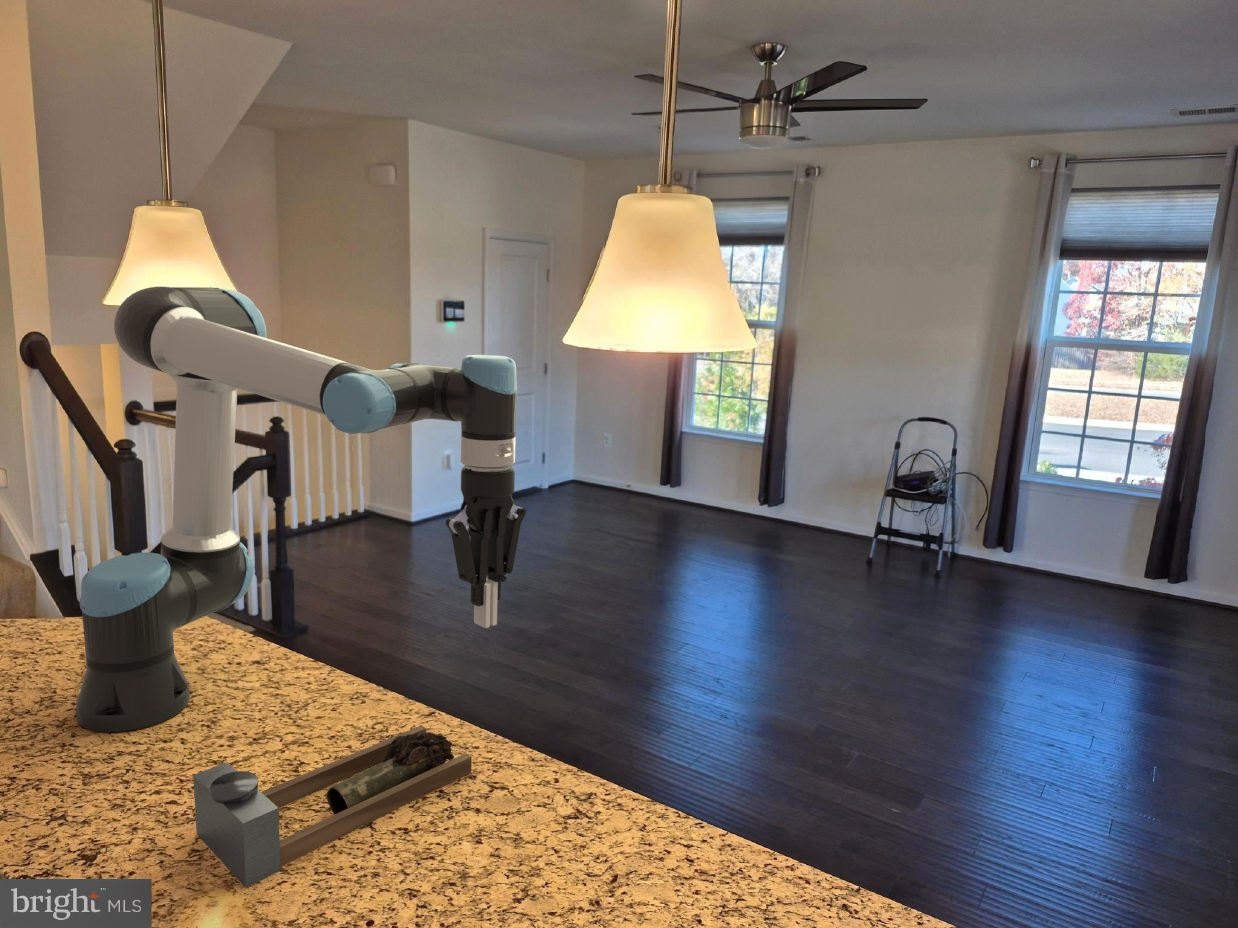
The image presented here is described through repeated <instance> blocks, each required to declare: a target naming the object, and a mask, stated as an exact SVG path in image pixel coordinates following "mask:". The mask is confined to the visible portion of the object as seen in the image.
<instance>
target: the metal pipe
mask: <svg viewBox="0 0 1238 928" xmlns="http://www.w3.org/2000/svg"><path fill="white" fill-rule="evenodd" d="M452 746H453V743H452V741H450V740H448V739H447V737H446V736H444V735H443V734H436V733H434V732H431V731H430V732H426V733H423V734H422V733H414V734H413V735H412V734H411V735H410V734H408V735H406V736H398V737H396V739H394V740H393V741H392V743H391V744H390V746H389V751H388V754H387V755H386V756H385V760H384V762H383V763H381V764H378V765H376V766H374V767H372V768H369V769H367V770H365V771H362V772H360V773H358V774H356V775H353V776H351V777H349V778H347V779H344V780H342V781H340V782H337V783H335V784H333V785H331V786H329V788H328V790H327V792H326V800H327V803H328V806H329V808H330V810H331V812H332V814H334V815H335V814H337V813H339V812H342V811H344V810H346V809H348V808H350V807H352V806H354V805H356V804H359V803H361V802H363V801H365V800H367V799H369V798H371V797H373V796H376V795H378V794H380V793H382V792H384V791H386V790H388V789H390V788H393V787H395V786H397V785H399V784H401V783H403V782H405V781H407V780H410V779H412V778H414V777H416V776H418V775H420V774H422V773H425V772H427V771H429V770H431V769H433V768H435V767H437V766H439V765H442V764H444V763H446V762H447V761H450V760H452V759H454V758H455V756H454V755H453V753H452V748H451V747H452Z"/></svg>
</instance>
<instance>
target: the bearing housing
mask: <svg viewBox="0 0 1238 928" xmlns="http://www.w3.org/2000/svg"><path fill="white" fill-rule="evenodd" d="M192 776H193V777H192V778H193V779H192V780H193V794H194V797H193V798H194V811H195V828H196V829H195V830H196V836H197V837H198V838H199V839H200V840H201V841H202V842H203V843H204V844H205V846H206V847H207V848H208V849H209V850H210V851H211V852H212V853H213V854H214V855H215V856H216V857H217V858H218V859H219V861H220V862H221V863H222V864H223V865H224V866H225V867H226V868H227V869H228V870H229V871H230V872H231V874H232V875H233V876H234V877H235V878H236V879H237V880H238V881H239V882H240V883H241V884H242V885H243V886H244V888H245V889H247V888H249V887H251V886H253V885H255V884H257V883H258V882H261V881H263V880H265V879H266V878H268V877H271V876H273V875H275V874H277V873H279V872H281V870H282V866H281V863H280V840H281V839H280V815H279V813H280V812H279V811H280V810H279V809H280V808H278V807H277V806H276V805H275V804H274V803H272V802H271V801H270V800H269V799H268V798H267V797H266V796H265V795H263V794H262V793H261V792H262V791H260V790H259V778H258V775H257V774H255V773H253V772H250V771H247V770H236V769H235V768H234V767H233V766H232V765H231V764H230V763H229V762H228V761H226V762H224V763H221V764H218V765H215V766H213V767H211V768H208V769H206V770H202V771H200V772H197V773H195V774H193V775H192Z"/></svg>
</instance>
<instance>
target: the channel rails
mask: <svg viewBox="0 0 1238 928" xmlns="http://www.w3.org/2000/svg"><path fill="white" fill-rule="evenodd" d="M414 733H422V734H423V733H427V727H425V726H423V725H422V724H421V725H418V726H416V727H414V728H413V727H412V728H411V729H408V730H406V731H404V732H401V733H399V734H396V735H395V736H392V737H389V738H387V739H385V740H382V741H380V742H378V743H375V744H373V745H370V746H367V747H365V748H363V749H360V750H358V751H355V752H354V753H351V754H348V755H347V756H344V757H342V758H339V759H336V760H334V761H332V762H329V763H327V764H324V765H322V766H320V767H317V768H315V769H312V770H310V771H308V772H306V773H303V774H301V775H299V776H298V775H297V776H296V777H294V778H292V779H288V780H287V781H283V782H282V783H279V784H276V785H274V786H271V787H270V788H267V789H265V790H263V791H260V792H261V793H262V794H263V795H265V796H266V797H267V798H268V799H269V800H270V801H271V802H272V803H274V804H275V805H276V806H277V807H278V809H280V808H283V807H285V806H287V805H289V804H292V803H294V802H296V801H298V800H301V799H304V798H305V797H308V796H310V795H312V794H315V793H317V792H319V791H321V790H324V789H326V788H327V787H332V786H334V785H336V784H338V783H340V782H343V781H345V780H347V779H349V778H351V777H354V776H356V775H358V774H360V773H362V772H364V771H366V770H369V769H371V767H372V768H373V766H374V767H375V765H376V766H377V765H379V764H380V763H381V764H382V763H384V760H385V756H386V755H387V754H388V751H389V746H390V744H391V743H392V741H393V740H394V739H396V737H398V736H406V735H408V734H410V735H411V734H412V735H413V734H414ZM472 758H473V757H472V755H471V754H468V753H467V752H465V753H463V754H461V755H459V756H456V757H454V758H453V759H452V760H450V761H449V760H447V761H445V763H444V764H442V765H439V766H437V767H435V768H433V769H431V770H429V771H427V772H425V773H422V774H420V775H418V776H416V777H414V778H412V779H410V780H407V781H405V782H403V783H401V784H399V785H397V786H395V787H393V788H390V789H388V790H386V791H384V792H382V793H380V794H378V795H376V796H373V797H371V798H369V799H367V800H365V801H363V802H361V803H359V804H356V805H354V806H352V807H350V808H348V809H346V810H344V811H342V812H339V813H337V814H335V815H331V816H329V817H327V818H325V819H323V820H320V821H318V822H316V823H314V824H311V825H309V826H308V827H305V828H304V829H301V830H300V831H297V832H295V833H292V834H291V835H289V836H286V837H284V838H282V839H280V863H281V867H283V866H285V865H288V864H289V863H291V862H293V861H295V860H297V859H300V858H301V857H304V856H306V855H307V854H310V853H311V852H314V851H316V850H318V849H320V848H322V847H324V846H326V845H328V844H330V843H332V842H333V841H336V840H338V839H340V838H342V837H344V836H346V835H348V834H350V833H352V832H354V831H355V830H358V829H360V828H362V827H364V826H367V825H368V824H370V823H372V822H374V821H376V820H378V819H380V818H383V817H385V816H386V814H387V815H388V814H390V813H393V812H395V811H397V810H399V809H400V807H401V808H402V806H403V807H405V806H407V805H409V804H410V803H413V802H415V801H417V800H419V799H421V798H423V797H424V796H426V795H427V796H428V795H429V794H431V793H433V792H435V791H437V790H439V789H441V788H443V787H446V786H447V785H449V784H451V783H453V782H455V781H457V780H459V779H461V778H463V777H465V776H467V775H469V774H472ZM422 796H423V797H422ZM412 801H413V802H412ZM406 804H407V805H406ZM396 809H397V810H396Z"/></svg>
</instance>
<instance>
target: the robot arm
mask: <svg viewBox="0 0 1238 928" xmlns="http://www.w3.org/2000/svg"><path fill="white" fill-rule="evenodd" d="M113 325H114V326H113V328H114V334H115V335H114V336H115V339H116V340H117V343H118V346H119V347H120V348H121V350H122V351H123V352H124V354H126V355H127V356H128V357H129V358H130V359H131V360H132V361H134V362H135V363H137V364H139V365H142V366H144V367H145V368H146V367H147V368H149V369H152V370H155V371H158V372H162V373H165V374H167V375H168V377H170V378H171V379H172V380H173V381H174V382H175V384H176V398H175V399H176V405H175V434H174V435H175V437H174V438H175V439H174V463H173V464H174V466H173V497H172V498H173V499H172V526H171V528H169V529H168V530H167V531H166V532H164V533H163V534H162V536H161V538H160V539H161V540H160V553H155V552H134V553H130V554H129V555H124V554H123V555H119V556H115V557H112V558H108V559H106V560H104V561H102V562H100V563H98V564H97V563H96V565H94V566H92V567H91V568H90V569H89V570H88V571H87V572H86V573H85V574H84V576H83V577H82V578H81V583H80V598H79V607H80V610H81V616H82V626H83V628H82V629H83V638H84V649H85V659H86V660H85V661H86V664H85V665H86V670H85V673H84V676H83V681H82V683H81V686H80V690H79V694H78V697H77V701H76V704H75V705H76V706H75V709H76V719H77V720H76V721H77V723H78V724H79V725H80V726H81V727H83V728H85V729H88V730H91V731H94V732H100V733H101V732H102V733H103V732H104V733H118V732H119V733H120V732H121V733H122V732H129V731H135V730H139V729H143V728H144V729H145V728H148V727H151V726H155V725H157V724H160V723H162V722H164V721H167V720H170V719H172V718H173V717H175V716H176V715H178V714H180V713H181V712H182V711H183V710H184V709H186V707H187V706H188V704H189V702H190V698H191V697H190V686H189V683H188V680H187V677H186V675H185V674H184V672H183V669H182V668H181V665H180V664H179V662H178V660H177V657H176V655H175V645H174V644H175V643H174V631H175V630H177V629H179V628H181V627H183V626H186V625H189V624H190V623H193V622H195V621H197V620H200V619H202V618H204V617H206V616H208V615H211V614H213V613H219V612H222V611H224V610H226V609H227V608H228V607H230V606H231V605H232V604H235V603H236V602H238V601H239V600H241V599H242V598H243V597H244V596H245V595H246V593H247V592H248V590H249V589H250V587H251V584H252V582H253V578H254V563H253V559H252V556H250V555H248V553H249V550H248V549H247V547H246V546H245V545H244V543H242V542H241V536H240V534H238V533H237V532H236V531H235V530H234V529H233V528H232V525H231V522H232V508H233V507H232V505H233V504H232V503H233V486H234V485H233V484H234V465H235V445H236V442H235V441H236V427H237V426H236V425H237V424H236V423H237V407H238V406H237V404H238V389H240V390H242V391H245V392H249V393H251V394H256V395H258V396H262V397H264V398H268V399H271V400H274V401H277V402H281V403H283V404H287V405H290V406H293V407H296V408H299V409H303V410H306V411H309V412H311V413H315V414H318V415H321V416H324V417H326V419H327V421H329V422H330V423H331V424H332V425H333V426H334V427H335V429H336V430H338V431H339V432H343V433H346V434H349V435H352V434H353V435H354V434H355V435H356V434H373V433H375V432H378V431H380V430H383V429H388V428H391V427H396V426H400V425H406V424H411V423H413V422H418V421H419V422H420V421H423V420H440V421H451V422H460V425H461V426H460V428H461V435H460V436H461V439H460V441H461V442H460V444H461V445H460V463H462V465H463V466H462V468H461V469H460V491H461V495H462V497H463V500H462V503H461V505H460V508H459V509H460V512H459V513H458V514H457V515H456V516H455V517H454V518H451V517H448V518H447V519H446V520H445V526H446V527H447V529H448V531H449V533H450V534H451V539H452V544H453V545H452V546H453V550H454V555H455V563H456V569H457V575H458V578H459V580H460V581H463V582H466V583H468V584H470V603H471V604H472V605H473V623H474V624H476V625H478V626H480V627H482V628H484V629H488V628H490V627H491V626H492V627H493V626H497V625H498V601H500V598H501V597H502V596H501V591H502V589H501V588H502V587H501V586H502V583H505V582H506V580H507V576H505V575H508V574H509V575H510V574H511V573H512V572H513V570H514V565H515V564H514V563H515V558H516V553H517V547H518V542H519V535H520V532H521V531H520V530H521V525H522V523H523V520H524V518H525V516H526V513H527V509H525V507H521V506H518V505H516V504H515V503H514V499H513V497H512V494H514V492H515V477H516V475H515V474H516V470H515V468H514V467H513V466H514V464H515V462H516V424H517V423H516V421H517V395H518V391H519V388H518V381H517V377H518V376H517V365H516V362H515V360H514V359H512V358H511V357H510V356H509V357H508V356H505V355H498V354H497V355H496V354H495V355H493V354H492V355H491V354H490V355H489V354H468V355H465V356H464V357H463V358H462V361H461V366H460V367H446V366H437V365H426V364H419V363H418V362H417V363H416V362H411V363H395V364H392V365H390V366H388V368H387V369H379V370H378V369H377V370H375V369H371V368H367V367H364V366H360V365H356V364H353V363H349V362H348V361H343V360H341V359H336V358H334V357H331V356H326V355H324V354H321V353H317V352H314V351H309V350H308V349H307V350H306V349H304V348H300V347H296V346H294V345H290V344H287V343H284V342H280V341H276V340H274V339H270V338H267V336H268V333H267V327H266V322H265V319H264V316H263V315H262V312H261V311H260V309H259V308H257V307H256V305H255V303H254V301H253V300H251V298H249V297H248V296H247V295H245V294H243V293H241V292H240V291H236V290H232V289H226V288H219V287H212V286H210V287H196V286H195V287H192V286H191V287H190V286H189V287H188V286H186V287H185V286H183V287H182V286H180V287H179V286H174V287H173V286H151V287H146V288H142V289H140V290H137V291H135V292H134V293H131V295H129V296H128V297H127V298H125V299H124V300H123V302H122V303H121V304H120V306H119V307H118V309H117V311H116V313H115V317H114V324H113Z"/></svg>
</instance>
